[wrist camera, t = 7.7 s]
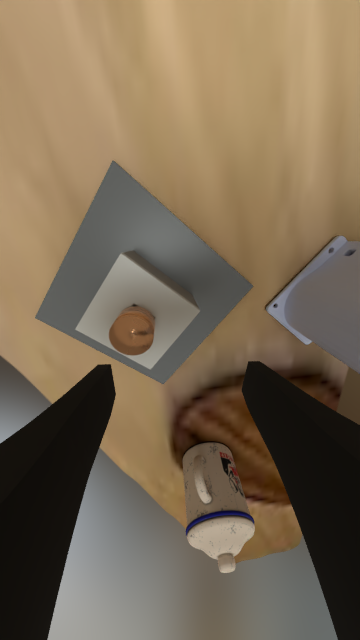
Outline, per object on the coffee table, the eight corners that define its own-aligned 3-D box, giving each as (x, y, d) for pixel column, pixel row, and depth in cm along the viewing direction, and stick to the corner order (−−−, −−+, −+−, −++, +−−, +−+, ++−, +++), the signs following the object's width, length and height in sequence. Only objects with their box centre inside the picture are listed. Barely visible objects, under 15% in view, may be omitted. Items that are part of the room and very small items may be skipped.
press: (114, 162, 13) (86, 120, 9) (251, 285, 18) (280, 299, 14) (37, 316, 18) (-7, 341, 13) (163, 381, 23) (162, 416, 18)
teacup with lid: (237, 461, 32) (273, 571, 21) (191, 475, 33) (203, 587, 22) (218, 423, 27) (252, 540, 16) (165, 440, 28) (164, 562, 17)
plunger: (134, 268, 15) (115, 282, 10) (179, 301, 16) (185, 329, 11) (106, 311, 16) (76, 345, 11) (150, 338, 18) (143, 379, 12)
